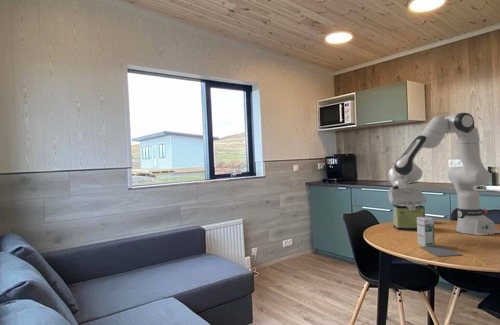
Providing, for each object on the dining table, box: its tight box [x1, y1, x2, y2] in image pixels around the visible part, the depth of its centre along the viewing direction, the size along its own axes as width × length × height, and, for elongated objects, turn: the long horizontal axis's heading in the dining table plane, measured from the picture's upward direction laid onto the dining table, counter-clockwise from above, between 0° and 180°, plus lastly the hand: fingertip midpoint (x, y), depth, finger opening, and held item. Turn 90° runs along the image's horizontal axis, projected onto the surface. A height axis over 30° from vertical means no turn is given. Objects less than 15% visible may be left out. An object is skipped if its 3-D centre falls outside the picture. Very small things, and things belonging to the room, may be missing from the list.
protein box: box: [392, 204, 424, 231], centre depth 205 cm, size 10×16×16 cm
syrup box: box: [416, 216, 436, 247], centre depth 167 cm, size 6×6×14 cm
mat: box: [419, 245, 463, 257], centre depth 156 cm, size 12×15×1 cm
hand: (412, 209), depth 177 cm, fingers closed
